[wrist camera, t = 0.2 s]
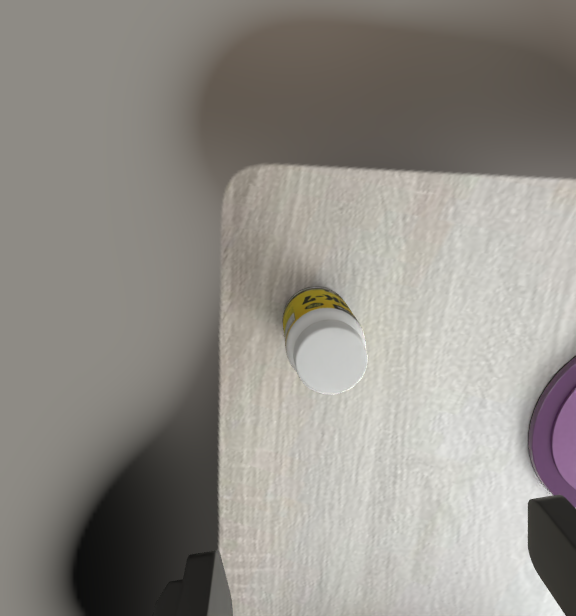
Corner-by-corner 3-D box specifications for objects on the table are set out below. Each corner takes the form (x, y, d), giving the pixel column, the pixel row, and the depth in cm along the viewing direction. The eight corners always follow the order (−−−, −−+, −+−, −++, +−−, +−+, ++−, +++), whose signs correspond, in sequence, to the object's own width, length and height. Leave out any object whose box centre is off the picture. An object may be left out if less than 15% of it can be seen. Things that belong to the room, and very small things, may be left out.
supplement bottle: (356, 293, 32) (387, 331, 24) (338, 354, 33) (362, 409, 25) (291, 278, 32) (300, 311, 24) (274, 340, 33) (278, 392, 25)
